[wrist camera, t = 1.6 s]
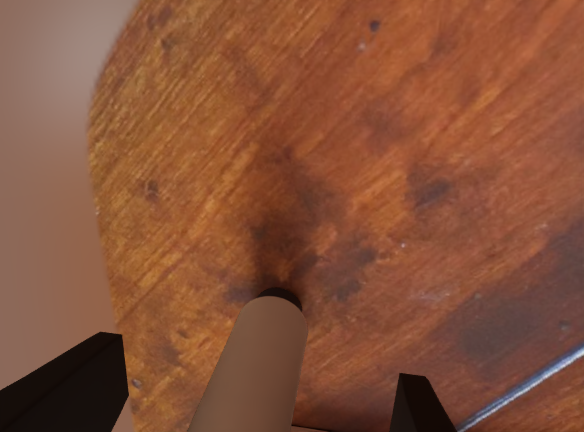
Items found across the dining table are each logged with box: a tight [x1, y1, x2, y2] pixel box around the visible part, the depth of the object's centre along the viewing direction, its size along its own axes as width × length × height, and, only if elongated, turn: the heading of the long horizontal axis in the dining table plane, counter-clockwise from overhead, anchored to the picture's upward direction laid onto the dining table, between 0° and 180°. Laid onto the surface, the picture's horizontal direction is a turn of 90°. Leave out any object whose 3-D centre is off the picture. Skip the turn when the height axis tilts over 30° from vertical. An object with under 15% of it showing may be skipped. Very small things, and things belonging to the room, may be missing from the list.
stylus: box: [187, 288, 308, 432], centre depth 10 cm, size 2×2×9 cm
